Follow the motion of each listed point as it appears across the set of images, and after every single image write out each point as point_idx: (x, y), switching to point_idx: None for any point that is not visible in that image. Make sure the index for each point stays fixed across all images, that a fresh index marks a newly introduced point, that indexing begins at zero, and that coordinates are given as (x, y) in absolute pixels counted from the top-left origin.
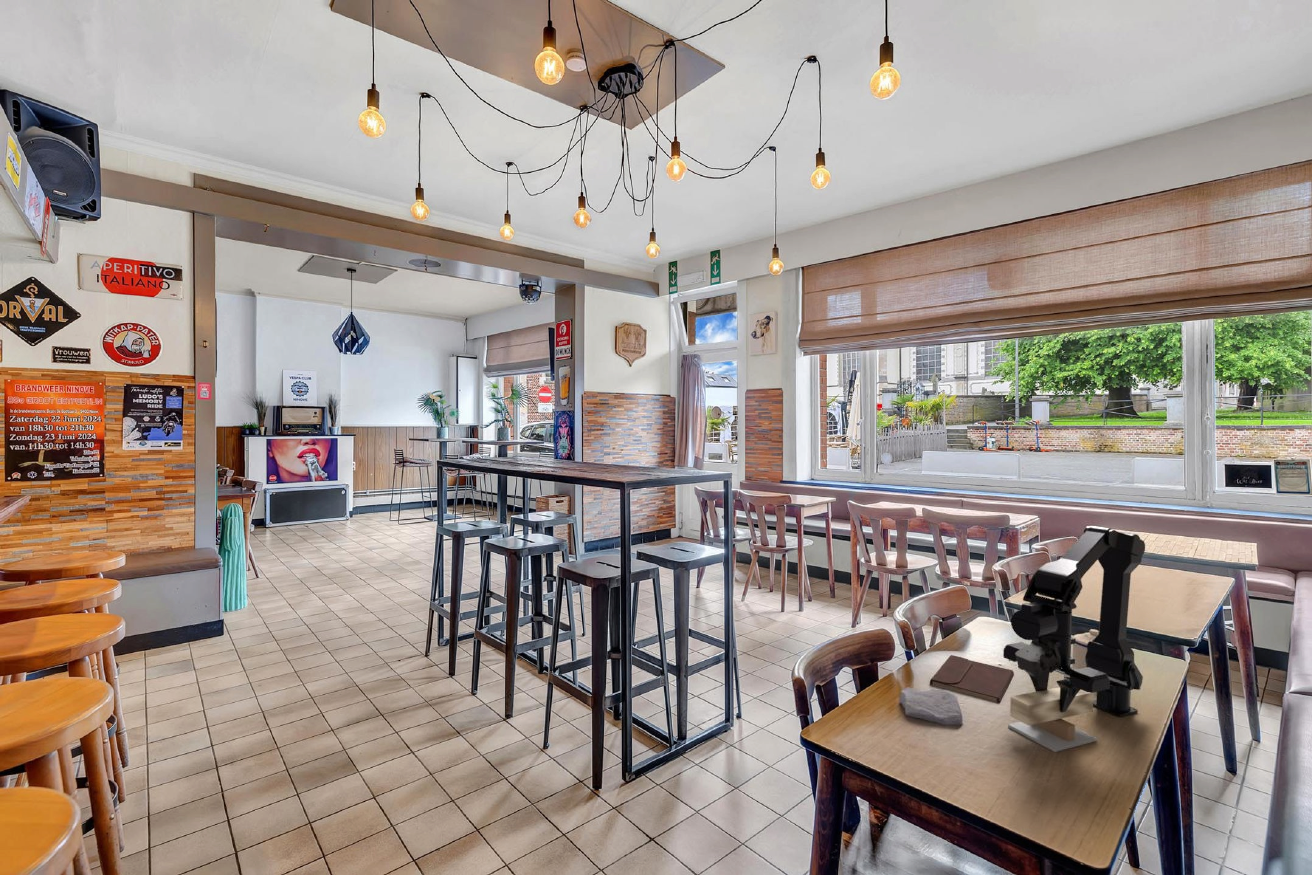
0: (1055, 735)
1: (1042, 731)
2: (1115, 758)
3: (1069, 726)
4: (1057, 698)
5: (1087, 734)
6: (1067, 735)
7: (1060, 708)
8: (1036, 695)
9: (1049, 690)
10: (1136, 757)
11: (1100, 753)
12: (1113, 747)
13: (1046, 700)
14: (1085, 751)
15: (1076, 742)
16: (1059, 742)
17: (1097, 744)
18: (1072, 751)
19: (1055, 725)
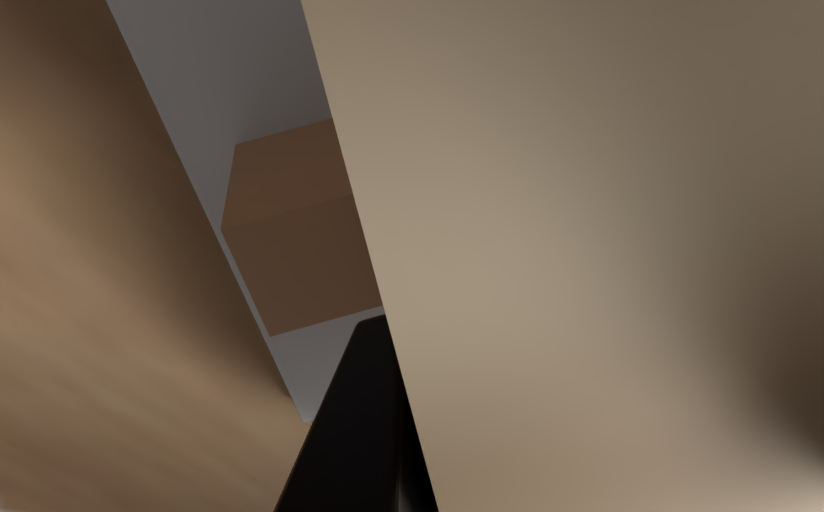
0: None
1: None
2: (7, 372)
3: (234, 253)
4: (470, 453)
5: None
6: (232, 172)
7: (381, 341)
8: (800, 34)
9: (808, 496)
10: (57, 502)
11: (84, 314)
12: (200, 450)
13: (409, 104)
14: (106, 213)
15: (219, 221)
16: (216, 37)
17: (245, 378)
18: (88, 80)
19: None
